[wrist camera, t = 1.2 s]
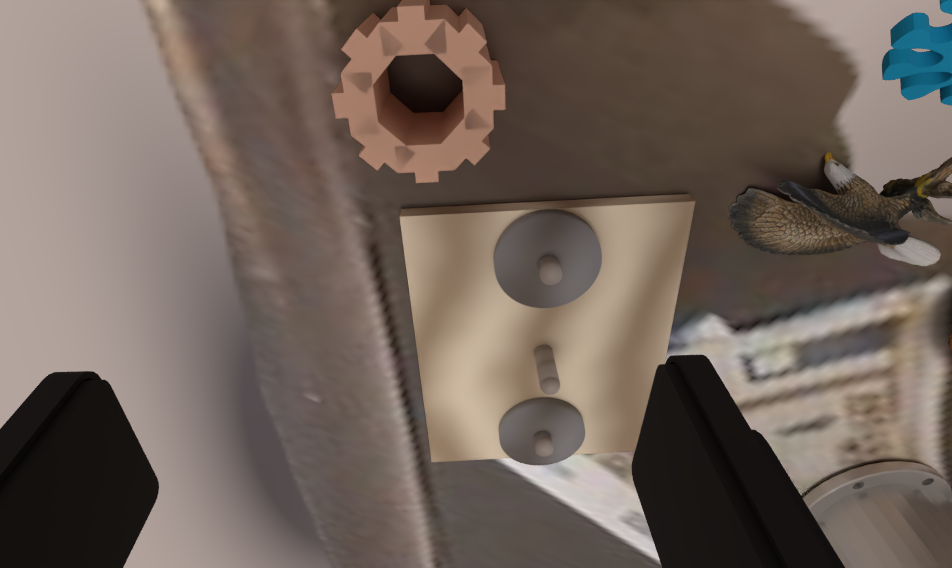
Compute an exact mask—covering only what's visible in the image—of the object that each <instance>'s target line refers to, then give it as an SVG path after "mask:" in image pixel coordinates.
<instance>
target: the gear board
mask: <svg viewBox="0 0 952 568" xmlns="http://www.w3.org/2000/svg"><path fill="white" fill-rule="evenodd" d="M694 207H695V200H694V199H693V198H692V197H691V196H690V195H689V194H676V195H657V196H637V197H618V198H599V199H580V200H561V201H542V202H523V203H504V204H485V205H466V206H447V207H427V208H408V209H401V212H400V224H401V231H402V239H403V247H404V254H405V262H406V269H407V277H408V285H409V292H410V300H411V308H412V315H413V323H414V330H415V338H416V346H417V353H418V361H419V368H420V376H421V384H422V391H423V399H424V406H425V414H426V422H427V429H428V437H429V444H430V452H431V460H432V462H443V461H461V460H480V459H499V458H512V459H514V460H516V461H518V462H520V463H524V464H529V465H548V464H553V463H556V462H559V461H562V460H564V459H566V458H568V457H570V456H571V455H574V454H593V453H611V452H630V451H635V450H636V446H637V442H638V438H639V434H640V430H641V426H642V423H643V419H644V415H645V411H646V407H647V403H648V399H649V396H650V392H651V388H652V384H653V380H654V376H655V372H656V369H657V367H658V365H659V364H665V359H666V354H667V348H668V343H669V338H670V333H671V327H672V322H673V317H674V312H675V306H676V301H677V296H678V291H679V285H680V280H681V275H682V270H683V264H684V259H685V254H686V249H687V243H688V238H689V233H690V228H691V222H692V217H693V212H694Z"/></svg>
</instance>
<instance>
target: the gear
mask: <svg viewBox="0 0 952 568" xmlns="http://www.w3.org/2000/svg"><path fill="white" fill-rule="evenodd" d="M940 9H941V10H942V11H943V12H945V13H949V14H952V0H940ZM891 46H892V47H893V48H895V49H891V50H889V51H888V52H887V53H886V54H885V56H884V58H883V62H882V73H883V74H882V75H883V80H895V79H899V78H900V81H901V94H902V95H903V96H904V97H905V98H906V99H907V100H913V99H917V98H920V97H922V96H925V95H927V94H928V93H930V92H932V91H934V90H937V89H939V88H940V98H941V102H942V103H944V104H947V105H952V23H951V24H949V25H946V26H943V27H932V26H930V25H929V18H928V16H927V15H926V14H924V13H912V14H911V15H909V16H907V17H906V18H904V19H903V20H901V21H900V22H899V23H897V24H896V25H895V26H894V27H893V28H892V29H891ZM914 48H921V49H929V50H931V51H927V52H916V51H913V50H911V49H914Z"/></svg>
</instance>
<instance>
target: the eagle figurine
mask: <svg viewBox="0 0 952 568" xmlns="http://www.w3.org/2000/svg"><path fill="white" fill-rule="evenodd" d="M824 172H825V174H826V176H827V178H828V179H829V180H830V182H831V183H832V185H833V186H834V187H835V189H836V191H837V195H833V194H830V193H827V192H825V191H822V190H820V189H809V188H805V187H803V186H801V185H799V184H797V183H795V182H791V181H788V180H781V181H780V183H781V184H778V185H777V186H778V188H777V189H778V190H779V191H780V192H782V193H784V194H786V195H789V197H790V199H791V200H793V201H795V202H792V201H787V200H784V199H782V198H779V197H777V196H775V195H773V194H770V193H767V192H765V191H762V190H759V189H754V188H749V189H748V190H747V191H746V194H742V195H739V196H738V197H737V202H736V203H733V204H731V205H730V206H729V210H730V211H731V212H730V213H729V214H728V216H727V217H728V219H729V220H730V221H732V222H733V224H732V225H731V227H732V229H733V230H735V231H738V232H742V233H741V234H740V235H739V236H740V238H742V239H746V240H747V241H746V243H747V244H748V245H751V246H753V247H755V248H759V249H760V250H761V251H767V252H771V253H773V254H777V253H778V254H780V253H781V254H788V255H795V254H798V255H811V254H816V255H817V254H824V253H832V252H834V251H841V250H844V249H846V248H850V247H852V246H855V245H858V244H859V243H860V242H867V241H869V242H873V243H876V244H877V245H878V248H879V250H880V252H881V253H882V254H883V255H885V256H887V257H889V258H891V259H896V260H899V261H904V262H908V263H910V264H914V265H920V266H928V265H931V264H935V263H936V262H937V261H938V260H939V259H940V255H941V253H940V252H939V250H938V249H937V248H936V247H934V246H933V245H931V244H929V243H927V242H925V241H923V240H920V239H918V238H914V237H911V236H910V234H911V233H910V232H908V231H905V230H902V229H901V228H900V226H899V225H898V224H897V222H898V220H899V219H900V218H902V217H903V216H904V215H905V214H907V213H908V212H909V211H912V213H913V215H914V216H916V217H917V218H921V217H922V218H923V219H924V220H928V221H933V222H935V223H938V224H941V225H950V224H952V221H951V220H949V219H946V218H944V217H942V216H940V215H939V214H938V213H937V212H936V211H935V210H934V208H933V206H932V204H931V202H930V200H928V199H927V197H928V196H930V197H934V198H952V183H950V182H947V181H945V180H946V178H947V177H948V176H949V175H950V174H951V173H952V157H951V158H950V159H948V160H947V161H945V162H944V163H943V164H942V165H941V166H940V167H939V168H937V169H935V170H932V171H931V172H929V173H927V174H925V175H922V176H921V177H918V178H914V179H912V180H908V179H897V180H891V181H890V182H888V183H887V184H885V185H884V186H883V188H884V189H883V191H882V192H881V193H880V194H878V193H877V192H876V190H875V189H874V188H873V187H872V186H871V185H869V183H867V182H866V181H865V180H863V179H861V178H860V177H858V176H857V175H856V174H854V173H852V172H851V171H850V170H848V169H847V168H846V167H844V166H843V165H842V164H841V163H839V162H837V161H836V160H835V159H834V158H833V157H832V154H831V152H828V153H826V154H825V167H824Z"/></svg>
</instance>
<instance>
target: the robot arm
mask: <svg viewBox="0 0 952 568" xmlns="http://www.w3.org/2000/svg"><path fill="white" fill-rule="evenodd" d="M632 476H633V481H634V485H635V488H636V491H637V493H638V496H639V499H640V502H641V505H642V508H643V511H644V514H645V517H646V520H647V523H648V526H649V529H650V532H651V535H652V538H653V541H654V544H655V547H656V550H657V553H658V556H659V559H660V562H661V565H662V568H952V490H951V487H950V486H949V485H948V483H947V482H946V481H945V480H944V479H943V477H942V476H941V475H940V474H939V473H938V472H936V471H935V470H934V469H932V468H930V467H928V466H926V465H922V464H918V463H914V462H903V461H893V462H881V463H875V464H869V465H865V466H861V467H858V468H854V469H851V470H849V471H846V472H844V473H841V474H839V475H836V476H834V477H833V478H831V479H829V480H827V481H825V482H823V483H822V484H820V485H819V486H817V487H816V488H814V489H813V490H811V491H810V492H809V493H808V494H807V495H806V496H805V497H804V498H802V497H801V495H800V494H799V492H798V490H797V489H796V487H795V486H794V484H793V482H792V481H791V479H790V477H789V476H788V474H787V473H786V471H785V469H784V468H783V466H782V465H781V463H780V461H779V460H778V458H777V456H776V455H775V453H774V452H773V450H772V448H771V447H770V445H769V444H768V442H767V441H766V440H765V438H764V437H763V436H762V435H761V434H760V433H759V432H757V431H756V430H751V428H750V427H749V425H748V423H747V422H746V420H745V418H744V417H743V415H742V413H741V412H740V410H739V409H738V407H737V405H736V404H735V402H734V400H733V399H732V397H731V395H730V394H729V392H728V390H727V389H726V387H725V385H724V384H723V382H722V380H721V379H720V377H719V375H718V374H717V372H716V370H715V369H714V367H713V365H712V364H711V362H710V360H709V359H708V358H707V357H706V356H704V355H676V356H670V357H669V358H668V359H667V361H666V364H659V365H658V367H657V369H656V372H655V376H654V380H653V384H652V388H651V392H650V396H649V399H648V403H647V407H646V411H645V415H644V419H643V423H642V426H641V430H640V434H639V438H638V442H637V446H636V450H635V453H634V457H633V461H632ZM158 490H159V485H158V479H157V477H156V475H155V473H154V471H153V469H152V467H151V465H150V463H149V461H148V459H147V457H146V455H145V453H144V451H143V449H142V447H141V445H140V443H139V441H138V439H137V437H136V435H135V433H134V431H133V429H132V427H131V425H130V423H129V421H128V419H127V418H126V415H125V414H124V411H123V409H122V407H121V405H120V403H119V401H118V399H117V397H116V395H115V393H114V391H113V390H112V387H111V385H110V384H109V383H108V382H107V381H106V380H101V378H100V377H99V376H98V374H96V373H95V372H90V371H89V372H88V371H87V372H86V371H84V372H54V373H52V374H49V375H48V376H47V377H46V378H45V379H43V380H42V382H41V383H40V384H39V385H38V386H37V387H36V388H35V390H34V391H33V392H32V393H31V394H30V395H29V397H28V398H27V399H26V400H25V401H24V402H23V403H22V405H21V406H20V407H19V408H18V409H17V410H16V411H15V413H14V414H13V415H12V416H11V417H10V418H9V420H8V421H7V422H6V423H5V424H4V425H3V427H2V428H1V429H0V568H123V567H124V565H125V563H126V560H127V558H128V556H129V554H130V552H131V550H132V548H133V546H134V544H135V542H136V540H137V538H138V536H139V534H140V532H141V530H142V528H143V526H144V524H145V522H146V520H147V518H148V516H149V514H150V512H151V510H152V508H153V506H154V504H155V502H156V499H157V495H158Z"/></svg>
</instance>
